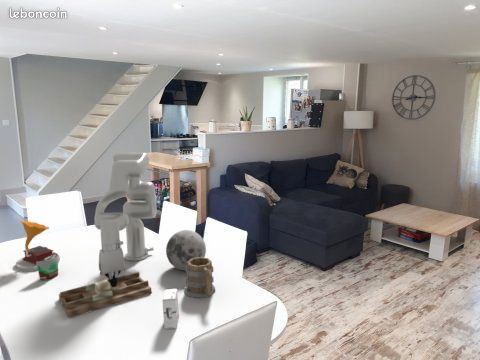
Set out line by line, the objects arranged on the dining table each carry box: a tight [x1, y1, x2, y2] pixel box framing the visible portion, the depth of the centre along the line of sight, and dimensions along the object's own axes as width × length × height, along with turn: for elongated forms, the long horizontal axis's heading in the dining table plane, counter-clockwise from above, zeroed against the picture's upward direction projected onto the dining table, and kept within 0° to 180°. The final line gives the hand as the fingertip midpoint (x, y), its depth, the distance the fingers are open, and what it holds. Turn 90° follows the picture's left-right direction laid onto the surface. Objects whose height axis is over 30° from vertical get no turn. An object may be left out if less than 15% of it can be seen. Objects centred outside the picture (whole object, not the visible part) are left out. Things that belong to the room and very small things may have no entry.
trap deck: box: [58, 271, 153, 319], centre depth 159 cm, size 34×18×4 cm, turn 127°
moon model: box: [165, 229, 207, 271], centre depth 186 cm, size 20×20×20 cm
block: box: [94, 279, 111, 294], centre depth 158 cm, size 5×5×4 cm
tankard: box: [184, 257, 216, 299], centre depth 160 cm, size 20×13×15 cm, turn 23°
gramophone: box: [15, 219, 61, 272], centre depth 192 cm, size 20×20×25 cm
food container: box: [36, 251, 61, 281], centre depth 177 cm, size 12×6×10 cm, turn 168°
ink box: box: [162, 288, 180, 330], centre depth 139 cm, size 9×5×12 cm, turn 5°
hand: (113, 285), depth 161 cm, fingers closed
